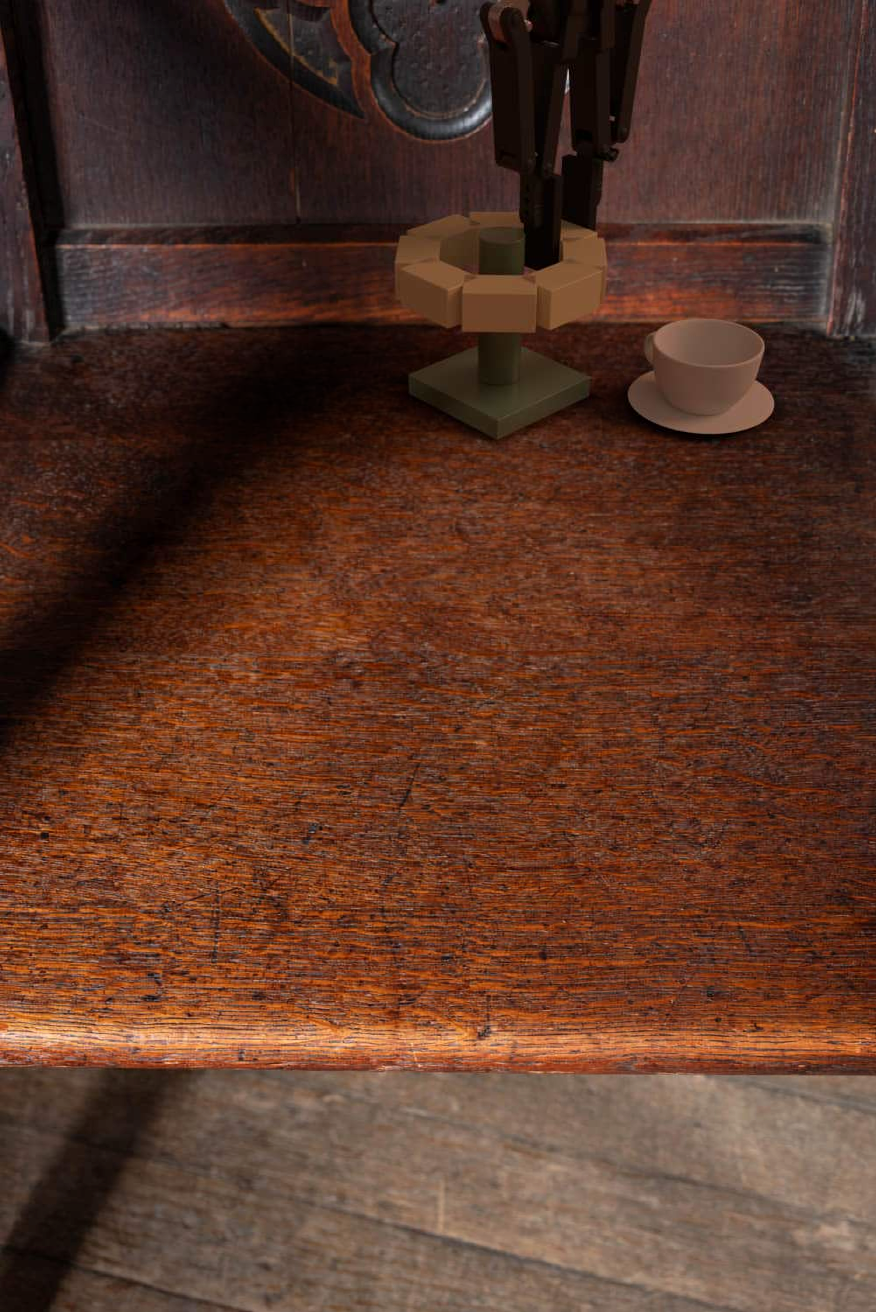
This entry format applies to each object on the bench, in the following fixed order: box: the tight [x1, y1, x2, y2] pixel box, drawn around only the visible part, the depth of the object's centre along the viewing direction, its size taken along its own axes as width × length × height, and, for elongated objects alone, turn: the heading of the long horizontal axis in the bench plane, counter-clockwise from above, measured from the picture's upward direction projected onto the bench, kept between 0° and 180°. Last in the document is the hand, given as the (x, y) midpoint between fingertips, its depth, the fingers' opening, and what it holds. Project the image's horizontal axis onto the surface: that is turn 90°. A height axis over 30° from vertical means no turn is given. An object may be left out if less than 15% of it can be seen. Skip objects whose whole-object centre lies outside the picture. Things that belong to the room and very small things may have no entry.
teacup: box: [627, 317, 775, 435], centre depth 86 cm, size 10×10×5 cm
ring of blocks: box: [394, 211, 608, 334], centre depth 83 cm, size 14×14×3 cm
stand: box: [407, 226, 591, 441], centre depth 85 cm, size 9×9×12 cm
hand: (558, 262), depth 86 cm, fingers closed on ring of blocks, 3 cm apart
